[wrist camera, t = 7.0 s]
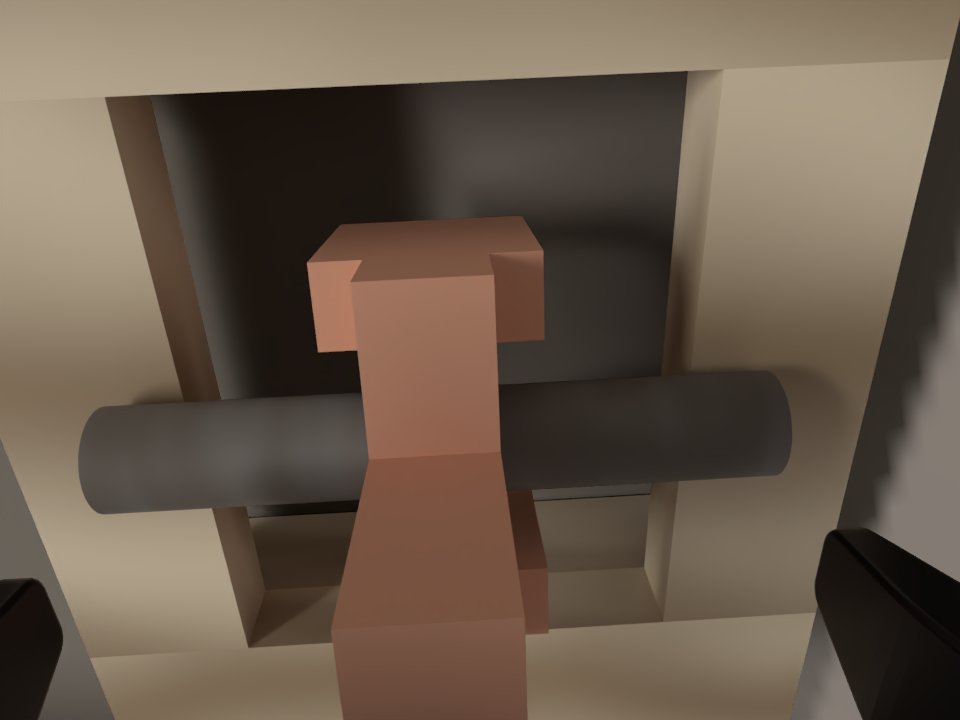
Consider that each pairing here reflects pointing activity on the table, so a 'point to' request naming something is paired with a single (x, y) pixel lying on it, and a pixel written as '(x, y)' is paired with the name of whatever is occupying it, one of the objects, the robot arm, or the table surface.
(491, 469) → the tee shaped peg
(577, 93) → the table surface
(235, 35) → the frame with crossbar
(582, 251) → the table surface
